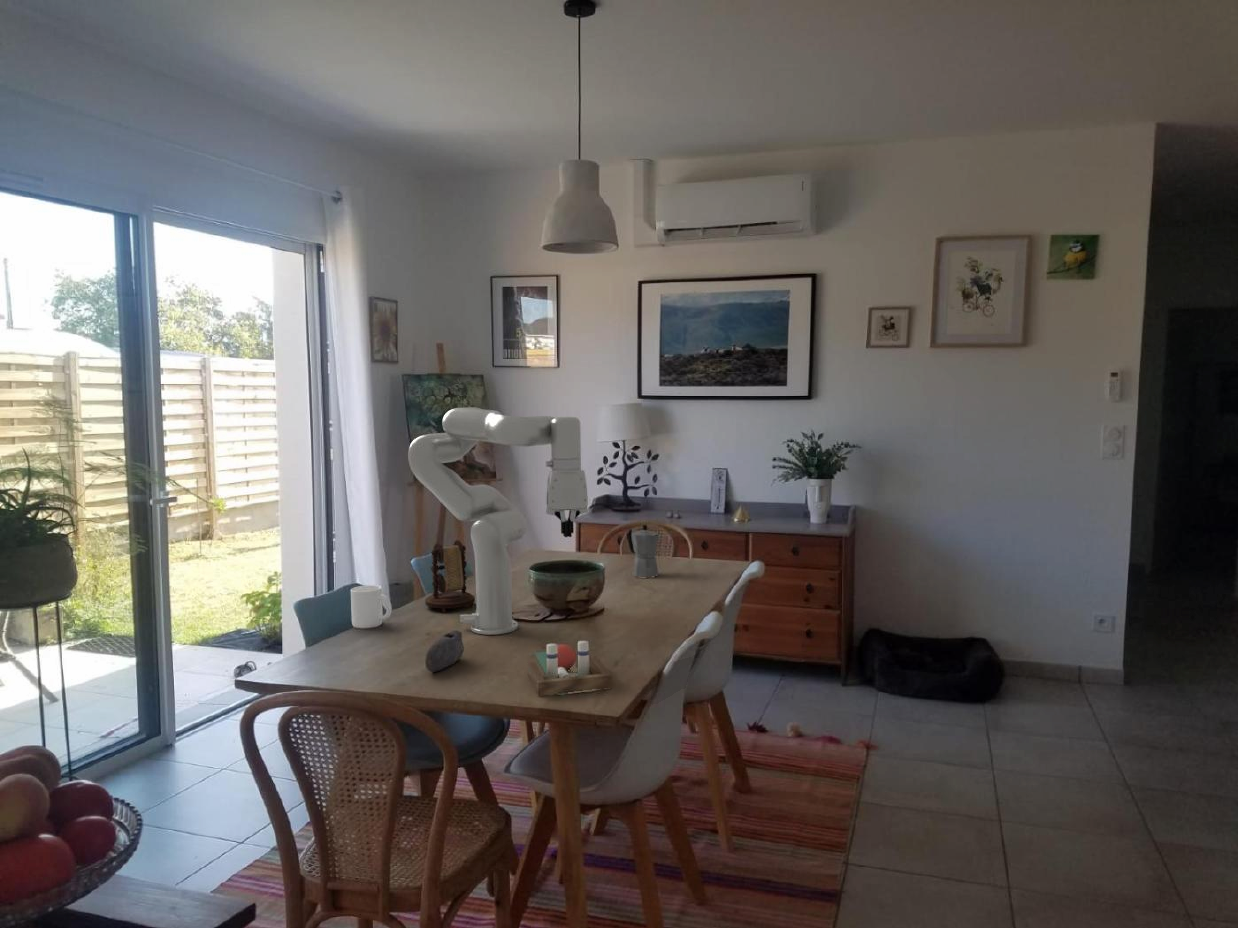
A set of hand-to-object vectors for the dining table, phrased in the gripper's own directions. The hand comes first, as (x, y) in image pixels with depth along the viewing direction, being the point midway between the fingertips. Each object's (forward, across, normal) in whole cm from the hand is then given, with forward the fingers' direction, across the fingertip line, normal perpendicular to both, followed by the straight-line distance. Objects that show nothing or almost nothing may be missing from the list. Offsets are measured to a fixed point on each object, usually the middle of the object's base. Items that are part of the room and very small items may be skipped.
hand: (567, 536), depth 214 cm
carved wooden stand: (+27, -28, +43) cm, 58 cm away
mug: (+27, -50, +29) cm, 64 cm away
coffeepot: (+27, +40, +67) cm, 83 cm away
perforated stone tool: (+27, -33, -13) cm, 44 cm away
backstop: (+27, -7, -32) cm, 42 cm away
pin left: (+27, -10, -31) cm, 43 cm away
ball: (+24, -6, -24) cm, 34 cm away
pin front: (+26, -8, -28) cm, 39 cm away
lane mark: (+27, -6, -24) cm, 37 cm away
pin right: (+27, -3, -31) cm, 41 cm away
